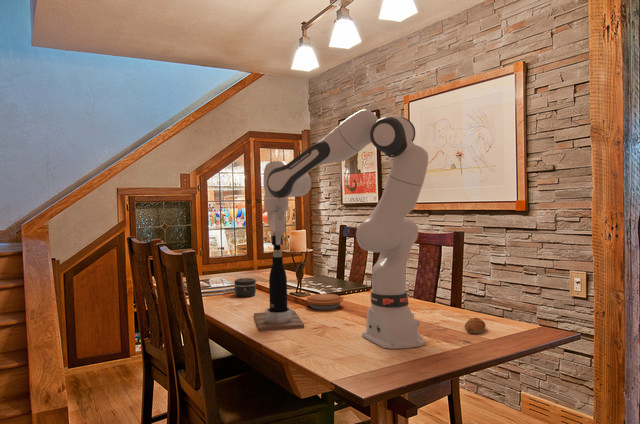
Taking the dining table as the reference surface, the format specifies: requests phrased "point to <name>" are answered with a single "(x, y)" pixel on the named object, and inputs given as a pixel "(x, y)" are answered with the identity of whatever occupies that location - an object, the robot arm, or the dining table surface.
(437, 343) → the dining table surface
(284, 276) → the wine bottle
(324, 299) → the pie
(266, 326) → the walnut board
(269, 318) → the grey bowl
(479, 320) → the pastry
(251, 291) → the jar
